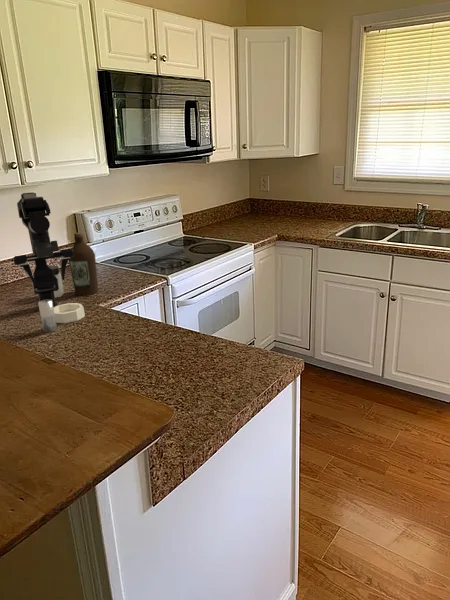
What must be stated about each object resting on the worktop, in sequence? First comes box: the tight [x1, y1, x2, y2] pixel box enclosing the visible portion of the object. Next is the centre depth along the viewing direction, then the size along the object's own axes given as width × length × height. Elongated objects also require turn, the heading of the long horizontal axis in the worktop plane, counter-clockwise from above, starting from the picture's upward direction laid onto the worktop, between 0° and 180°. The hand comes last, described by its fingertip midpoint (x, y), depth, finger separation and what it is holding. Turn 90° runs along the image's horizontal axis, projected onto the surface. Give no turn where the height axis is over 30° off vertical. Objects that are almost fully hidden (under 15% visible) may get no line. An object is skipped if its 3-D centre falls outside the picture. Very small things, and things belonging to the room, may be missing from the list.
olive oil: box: [68, 232, 99, 296], centre depth 197 cm, size 11×11×25 cm
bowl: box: [54, 302, 86, 324], centre depth 171 cm, size 11×11×4 cm
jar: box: [48, 265, 65, 299], centre depth 196 cm, size 9×8×12 cm
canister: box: [37, 299, 58, 333], centre depth 159 cm, size 4×4×10 cm
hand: (49, 282), depth 159 cm, fingers open, 9 cm apart
